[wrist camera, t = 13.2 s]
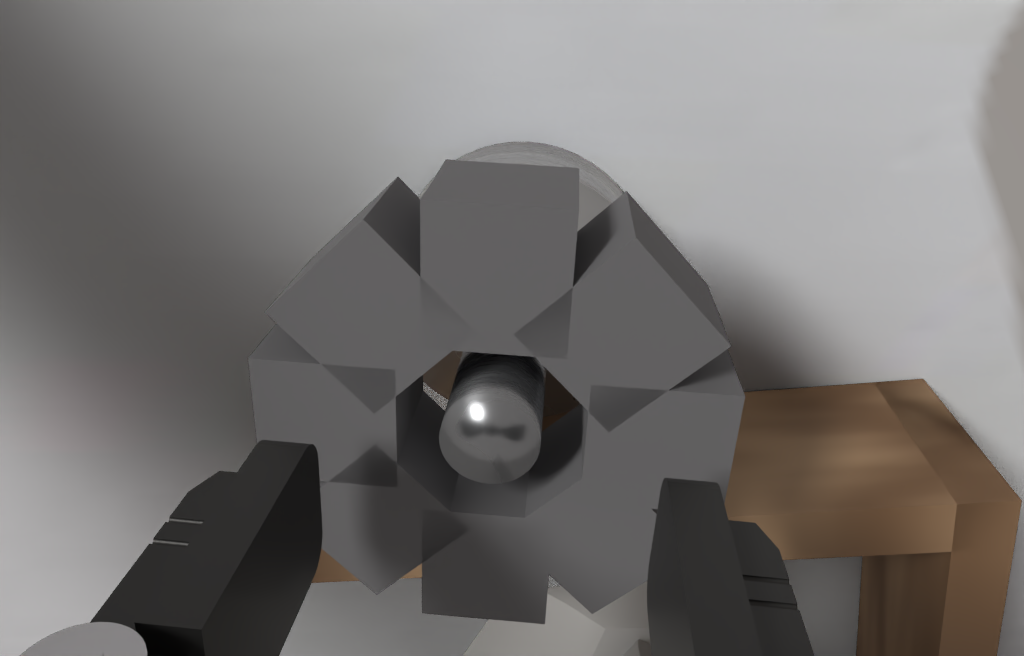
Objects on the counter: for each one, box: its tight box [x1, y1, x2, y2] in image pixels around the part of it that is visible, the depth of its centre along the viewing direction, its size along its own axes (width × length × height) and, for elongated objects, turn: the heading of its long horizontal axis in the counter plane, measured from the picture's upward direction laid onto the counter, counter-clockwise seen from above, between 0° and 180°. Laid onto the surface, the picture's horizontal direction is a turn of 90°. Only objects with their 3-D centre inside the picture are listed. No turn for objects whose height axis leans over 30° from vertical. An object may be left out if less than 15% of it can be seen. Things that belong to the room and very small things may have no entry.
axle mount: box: [418, 142, 624, 484], centre depth 16 cm, size 6×6×8 cm
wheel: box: [248, 160, 745, 624], centre depth 14 cm, size 8×8×2 cm
